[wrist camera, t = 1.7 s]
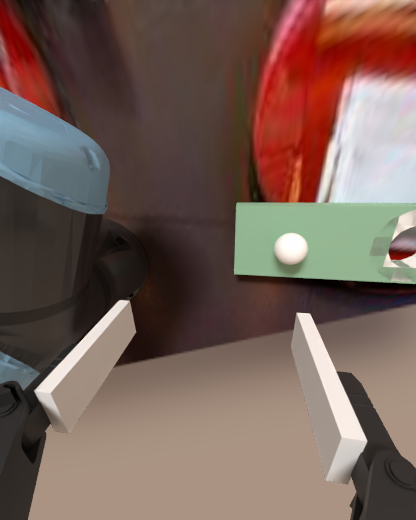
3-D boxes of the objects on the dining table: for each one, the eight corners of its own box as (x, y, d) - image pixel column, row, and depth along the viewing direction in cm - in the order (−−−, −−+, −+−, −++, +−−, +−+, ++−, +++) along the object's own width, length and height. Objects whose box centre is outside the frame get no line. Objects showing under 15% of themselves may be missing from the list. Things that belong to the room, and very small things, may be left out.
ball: (270, 256, 30) (274, 269, 26) (273, 228, 28) (278, 237, 25) (301, 258, 29) (309, 270, 26) (305, 229, 28) (315, 238, 24)
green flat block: (234, 267, 34) (233, 280, 30) (237, 202, 30) (235, 208, 26) (437, 276, 30) (468, 294, 26) (470, 203, 26) (513, 210, 22)
